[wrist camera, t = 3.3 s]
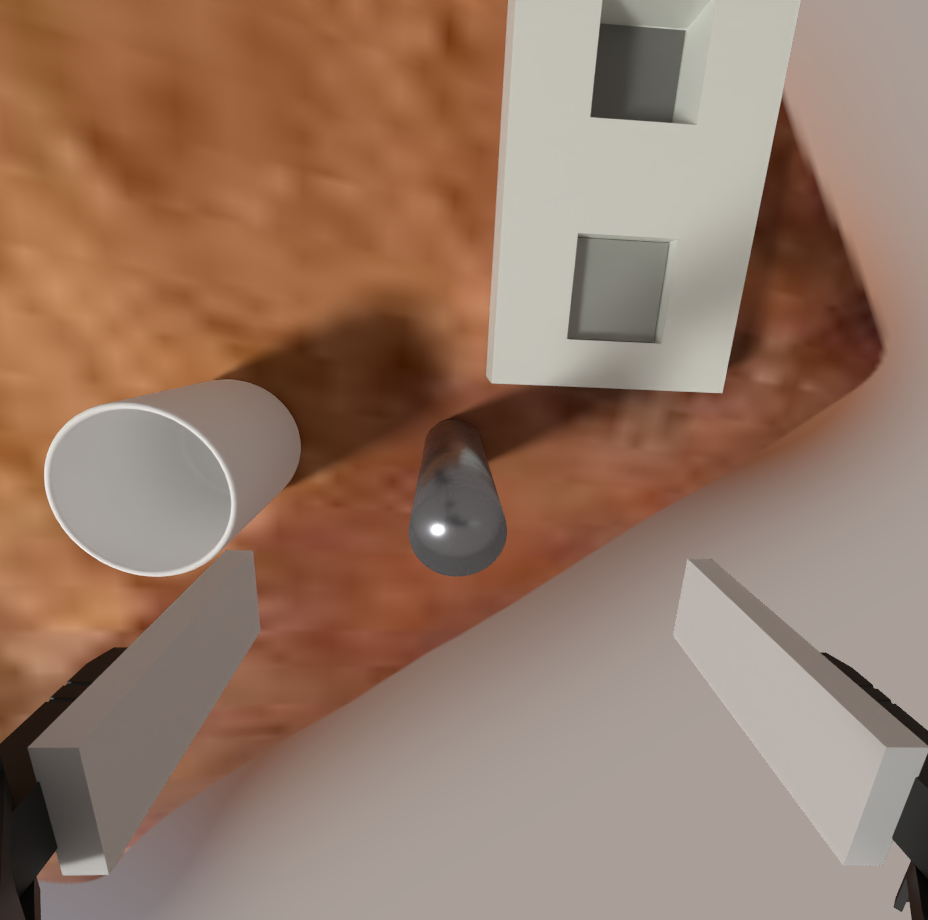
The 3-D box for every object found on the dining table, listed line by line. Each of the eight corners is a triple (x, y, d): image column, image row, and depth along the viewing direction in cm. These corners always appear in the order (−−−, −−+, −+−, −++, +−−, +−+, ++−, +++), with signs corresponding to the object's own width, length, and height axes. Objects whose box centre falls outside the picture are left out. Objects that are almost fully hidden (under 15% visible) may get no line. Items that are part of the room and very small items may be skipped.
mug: (110, 444, 31) (-56, 501, 21) (253, 352, 30) (151, 365, 20) (193, 542, 33) (80, 637, 23) (329, 460, 32) (274, 523, 22)
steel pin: (425, 417, 31) (409, 484, 18) (483, 420, 32) (510, 487, 18) (424, 473, 33) (408, 575, 19) (480, 475, 33) (503, 577, 19)
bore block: (510, -35, 25) (521, -101, 21) (760, -13, 25) (815, -74, 22) (485, 376, 31) (491, 383, 27) (688, 385, 32) (722, 393, 28)
